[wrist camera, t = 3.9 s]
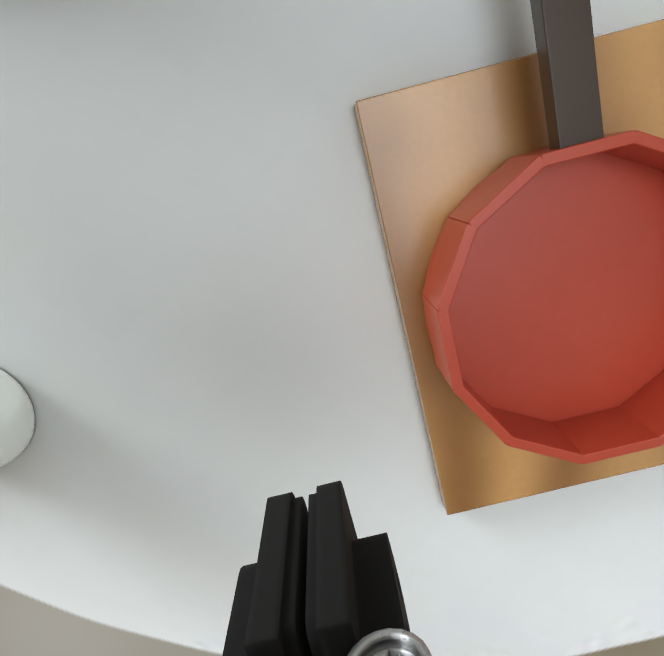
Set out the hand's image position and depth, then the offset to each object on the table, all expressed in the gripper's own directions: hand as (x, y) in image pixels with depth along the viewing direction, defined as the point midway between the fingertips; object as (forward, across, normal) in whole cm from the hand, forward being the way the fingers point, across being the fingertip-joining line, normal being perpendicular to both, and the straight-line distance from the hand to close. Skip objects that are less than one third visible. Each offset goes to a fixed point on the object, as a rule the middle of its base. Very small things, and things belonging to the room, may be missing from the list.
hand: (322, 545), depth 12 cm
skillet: (+15, -12, -4) cm, 20 cm away
